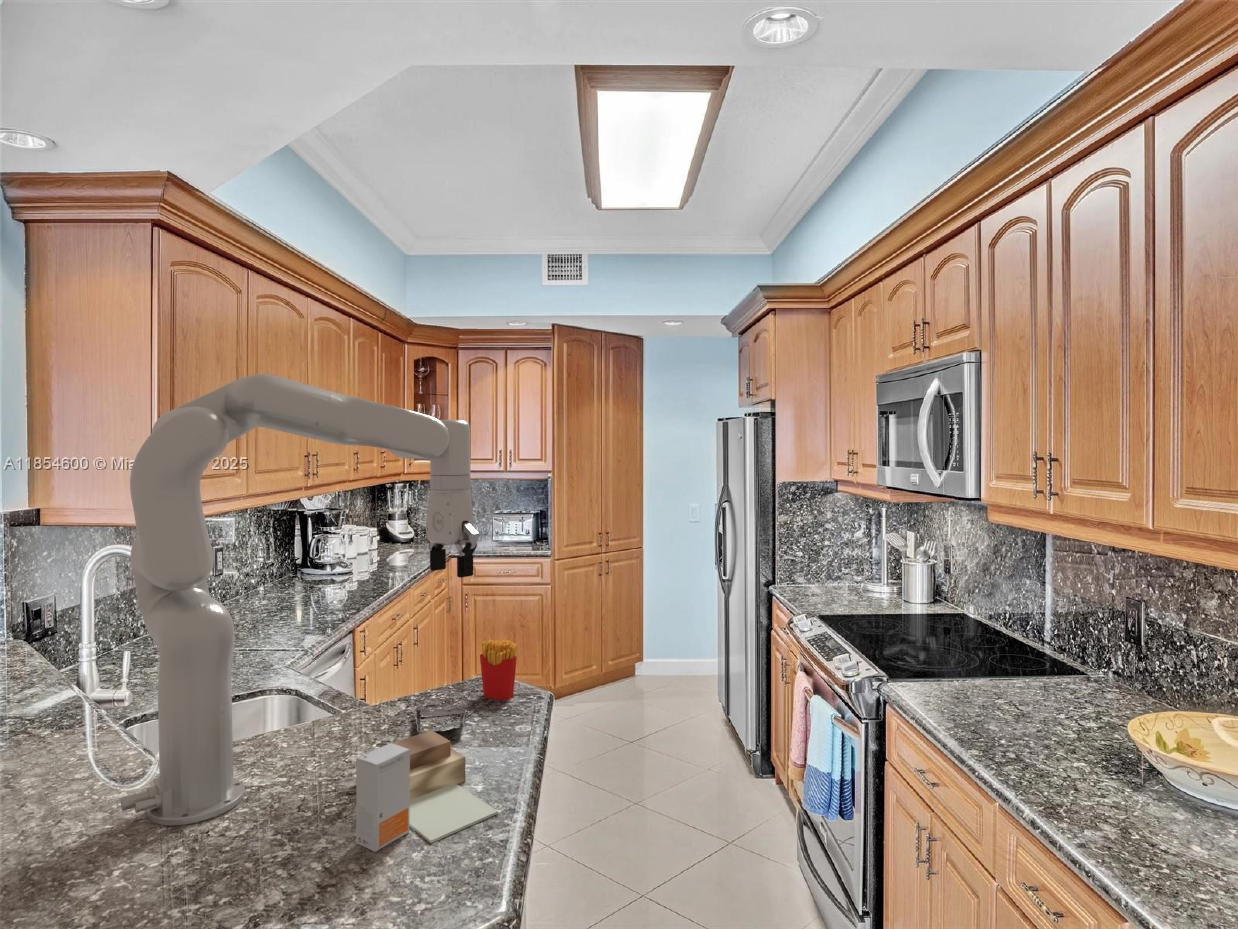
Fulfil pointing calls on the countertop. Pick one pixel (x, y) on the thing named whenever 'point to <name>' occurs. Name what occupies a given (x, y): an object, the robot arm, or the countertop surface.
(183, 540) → the robot arm
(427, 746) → the walnut block
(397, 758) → the skincare box
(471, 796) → the mat
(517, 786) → the countertop surface
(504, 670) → the french fries
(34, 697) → the countertop surface
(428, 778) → the platform
